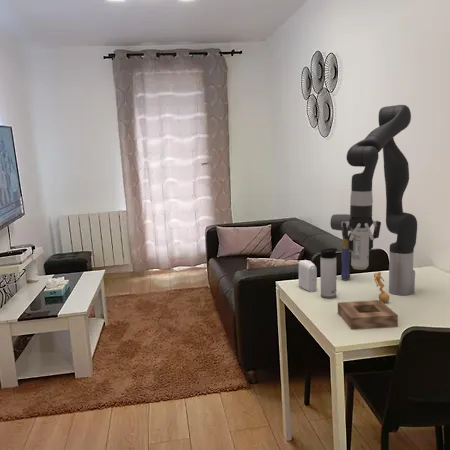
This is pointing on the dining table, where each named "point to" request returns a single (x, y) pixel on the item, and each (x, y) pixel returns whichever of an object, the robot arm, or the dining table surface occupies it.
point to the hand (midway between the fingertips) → (360, 249)
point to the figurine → (383, 295)
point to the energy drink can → (360, 249)
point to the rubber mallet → (345, 254)
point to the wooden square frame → (367, 314)
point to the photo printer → (307, 275)
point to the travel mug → (328, 273)
